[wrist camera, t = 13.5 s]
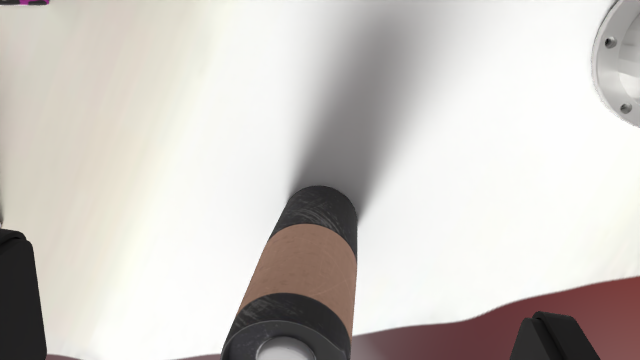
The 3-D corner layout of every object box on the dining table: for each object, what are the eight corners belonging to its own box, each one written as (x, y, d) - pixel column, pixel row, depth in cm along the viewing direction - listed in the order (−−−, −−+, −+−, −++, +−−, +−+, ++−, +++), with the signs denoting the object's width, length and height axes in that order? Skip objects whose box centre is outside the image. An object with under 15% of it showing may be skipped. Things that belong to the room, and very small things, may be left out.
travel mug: (266, 224, 46) (193, 378, 27) (310, 166, 43) (263, 292, 25) (329, 267, 47) (300, 443, 28) (376, 213, 44) (378, 368, 26)
